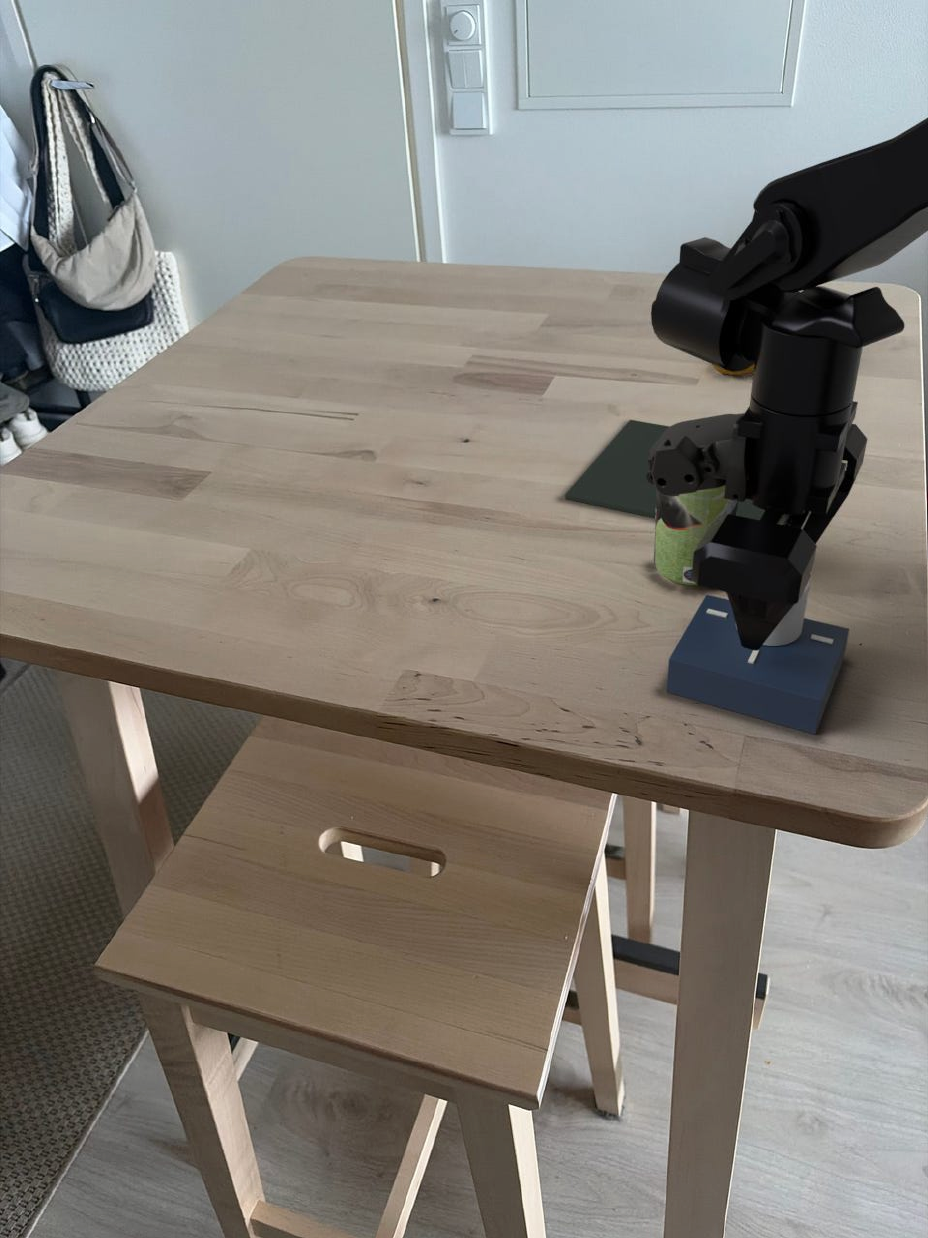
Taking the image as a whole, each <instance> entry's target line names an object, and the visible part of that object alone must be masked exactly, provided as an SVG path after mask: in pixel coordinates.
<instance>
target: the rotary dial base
mask: <svg viewBox="0 0 928 1238" xmlns="http://www.w3.org/2000/svg"><path fill="white" fill-rule="evenodd" d="M849 634H850V628H847V627H845V626H844V627H843V626H840V625H835V624H831V623H827V622H823V621H819V620H818V621H817V620H815V619H811V618H806V617H804V621H803V627H802V632H801V634H800V636H799V637H798V638H797V639H796V640H795V641H793V642H791V643H789V644H786V645H781V646H766V645H762V646H761V647H760V649H759V650H757V651H755V650H751V649H747V648H744V647H742V645H741V642H740V638H739V634H738V630H737V628H736V624H735V619H734V615H733V611H732V607H731V604H730V601H729V599H728V598H727V599H726V598H723V597H719V596H714V595H711V594H706V595H705V596H704V598H703V599H702V601H701V603H700V605H699V607H698V608H697V610H696V612H695V613H694V615H693V616H692V619H691V620H690V622H689V624H688V626H687V627H686V629H685V631H684V632H683V634H682V636H681V638H680V639H679V640H678V643H677V644H676V646H675V647H674V649H673V651H672V653H671V654H670V656H669V658H668V666H667V667H668V668H667V680H666V693H668V694H672V695H676V696H679V697H682V698H685V699H690V700H693V701H696V702H700V703H703V704H707V705H710V706H714V707H717V708H721V709H724V710H728V711H731V712H735V713H738V714H741V715H744V716H748V717H752V718H756V719H759V720H763V721H766V722H770V723H772V724H777V725H779V726H783V727H787V728H790V729H793V730H797V731H801V732H804V733H808V734H811V735H816V734H817V730H818V728H819V726H820V723H821V720H822V718H823V715H824V712H825V710H826V707H827V704H828V702H829V699H830V697H831V694H832V691H833V689H834V687H835V683H836V681H837V678H838V675H839V672H840V670H841V668H842V665H843V662H844V658H845V653H846V647H847V643H848V638H849Z"/></svg>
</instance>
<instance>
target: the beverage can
mask: <svg viewBox="0 0 928 1238" xmlns="http://www.w3.org/2000/svg"><path fill="white" fill-rule="evenodd" d="M724 494H725V486H722V487H719V488H714V489H706V490H698V491H696V492H694V493H687V494H680V495H679V496H673V497H668V496H664V495H662V494H661V493H659V492H658V491H657V490H656V509H655V518H654V535H653V536H654V538H653V539H654V540H653V563H654V566H655V569H656V570H658V573H659V574H661V575H662V577H664V578H666V579H667V580H669V581H671V582H673V583H677V584H679V585H684V586H698V585H697V584H696V583H695V582H694V580H693V579H692V566H693V555H694V551H695V549H696V548H697V546H698V545H699V543H700V541H701V540H702V538H703V537H704V535H705V534H706V532H707V530H708V529H709V527H710V526H711V524H712V523H714V522H716V521H717V520H719V519H720V518H722V517H724V516H725V515H727V514H731V515H736V516H737V508H738V501H734V500H729V499H724Z"/></svg>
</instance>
